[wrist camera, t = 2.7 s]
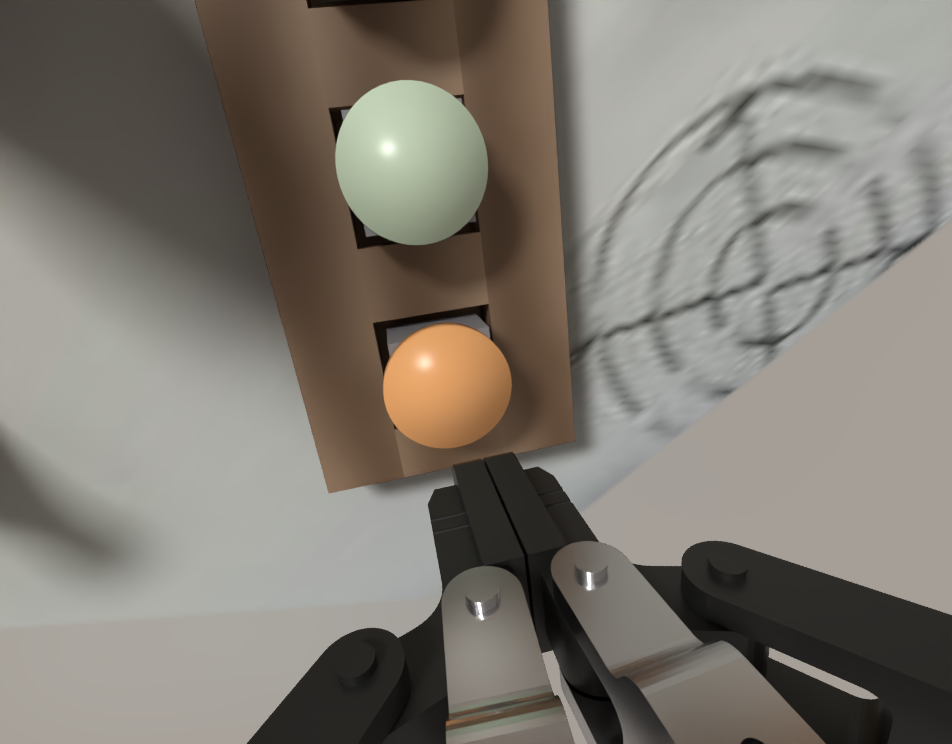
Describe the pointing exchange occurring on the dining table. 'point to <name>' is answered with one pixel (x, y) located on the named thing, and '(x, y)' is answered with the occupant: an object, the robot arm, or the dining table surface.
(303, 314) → the console
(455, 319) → the button orange
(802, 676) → the robot arm
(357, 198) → the button sage
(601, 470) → the dining table surface
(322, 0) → the button cream
